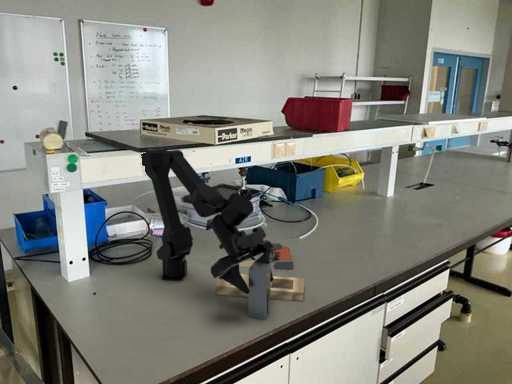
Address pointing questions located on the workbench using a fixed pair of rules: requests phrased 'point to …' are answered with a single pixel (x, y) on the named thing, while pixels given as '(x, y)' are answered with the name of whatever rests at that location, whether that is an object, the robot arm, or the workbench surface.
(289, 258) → the toy gun
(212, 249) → the workbench surface
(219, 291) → the slotted wooden board
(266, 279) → the tall gray pillar
